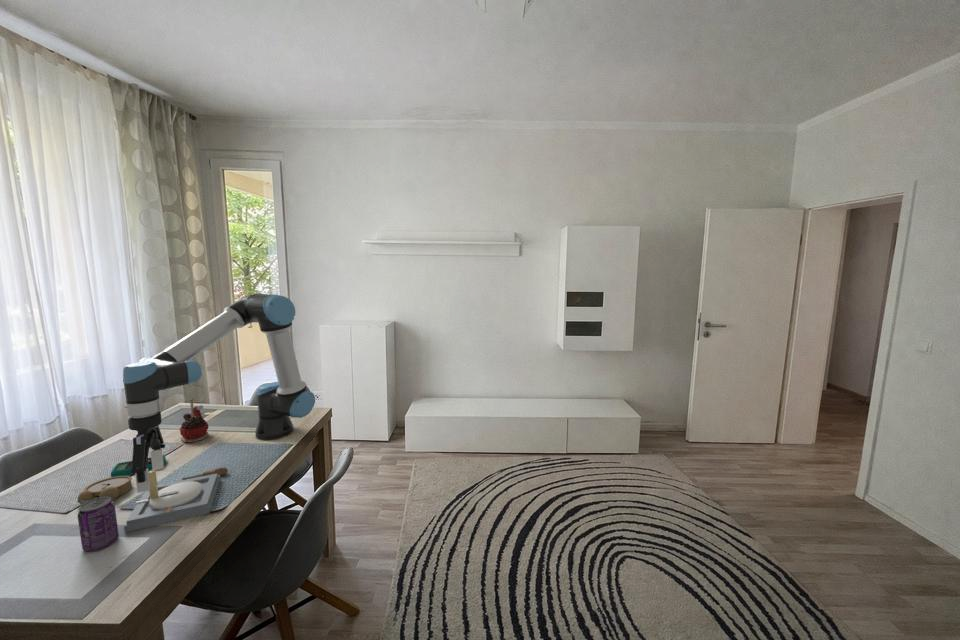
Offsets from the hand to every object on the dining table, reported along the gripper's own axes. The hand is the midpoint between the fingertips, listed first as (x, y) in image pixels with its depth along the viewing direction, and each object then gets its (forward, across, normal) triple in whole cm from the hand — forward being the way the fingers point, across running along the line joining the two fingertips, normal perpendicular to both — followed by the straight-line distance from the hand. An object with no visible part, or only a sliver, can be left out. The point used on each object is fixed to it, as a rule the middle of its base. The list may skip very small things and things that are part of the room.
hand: (151, 479), depth 118 cm
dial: (+8, 0, +6) cm, 9 cm away
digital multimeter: (+10, -32, -12) cm, 36 cm away
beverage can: (+10, +13, -8) cm, 18 cm away
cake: (+10, -53, +1) cm, 54 cm away
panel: (+10, 0, +6) cm, 11 cm away
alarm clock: (+10, -15, -16) cm, 24 cm away
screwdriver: (+10, -14, +11) cm, 20 cm away
